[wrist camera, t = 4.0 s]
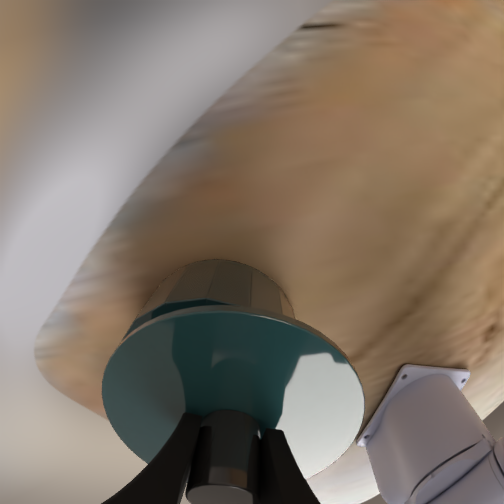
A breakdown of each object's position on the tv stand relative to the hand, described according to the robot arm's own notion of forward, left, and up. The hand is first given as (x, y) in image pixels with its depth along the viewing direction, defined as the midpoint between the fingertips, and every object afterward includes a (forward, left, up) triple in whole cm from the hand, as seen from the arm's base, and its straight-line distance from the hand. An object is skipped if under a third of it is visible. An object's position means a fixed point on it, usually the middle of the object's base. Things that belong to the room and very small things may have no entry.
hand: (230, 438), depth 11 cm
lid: (0, 0, -1) cm, 1 cm away
